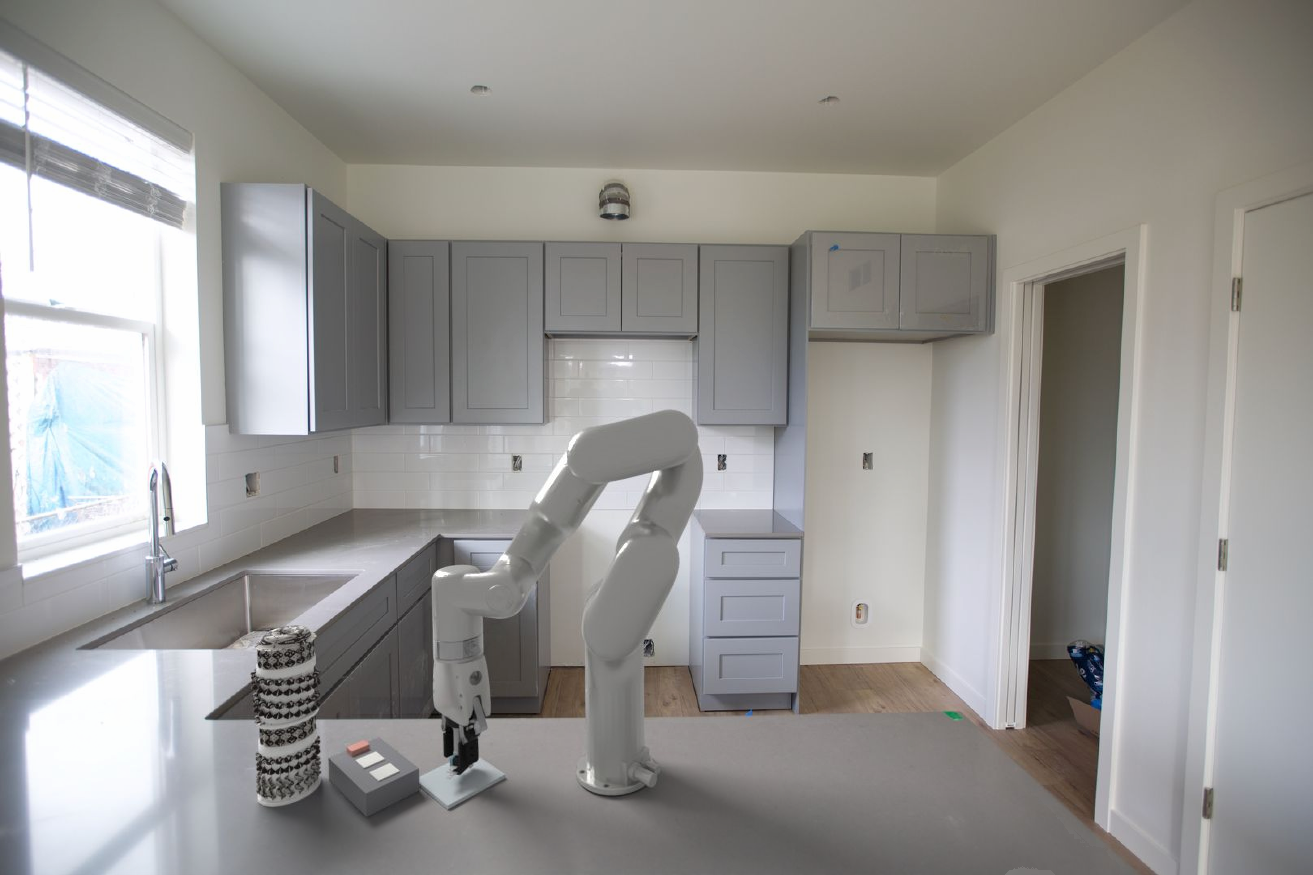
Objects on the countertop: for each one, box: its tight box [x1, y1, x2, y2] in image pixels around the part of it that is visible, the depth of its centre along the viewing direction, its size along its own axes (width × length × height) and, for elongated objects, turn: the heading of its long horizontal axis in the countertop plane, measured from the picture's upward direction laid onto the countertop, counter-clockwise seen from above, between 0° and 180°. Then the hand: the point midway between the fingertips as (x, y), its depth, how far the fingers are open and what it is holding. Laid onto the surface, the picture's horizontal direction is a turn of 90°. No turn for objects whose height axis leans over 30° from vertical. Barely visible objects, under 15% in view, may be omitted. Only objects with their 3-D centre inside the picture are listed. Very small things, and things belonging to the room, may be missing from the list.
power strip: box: [327, 736, 420, 818], centre depth 92 cm, size 14×8×4 cm, turn 49°
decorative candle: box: [250, 624, 322, 808], centre depth 91 cm, size 9×9×25 cm
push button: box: [445, 715, 480, 779], centre depth 93 cm, size 7×5×10 cm
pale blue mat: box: [419, 756, 506, 810], centre depth 93 cm, size 10×10×1 cm
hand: (461, 757), depth 93 cm, fingers closed on push button, 3 cm apart
